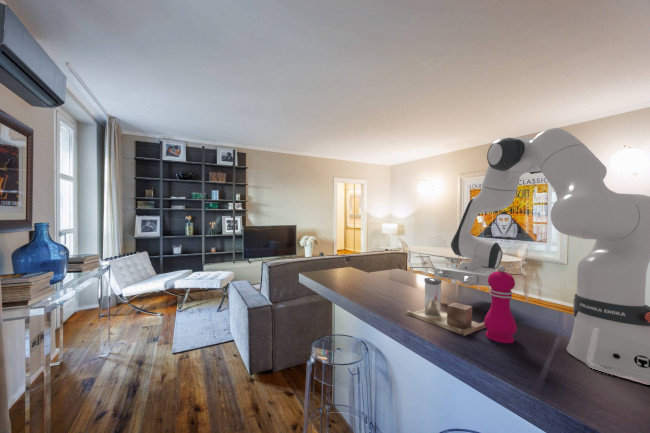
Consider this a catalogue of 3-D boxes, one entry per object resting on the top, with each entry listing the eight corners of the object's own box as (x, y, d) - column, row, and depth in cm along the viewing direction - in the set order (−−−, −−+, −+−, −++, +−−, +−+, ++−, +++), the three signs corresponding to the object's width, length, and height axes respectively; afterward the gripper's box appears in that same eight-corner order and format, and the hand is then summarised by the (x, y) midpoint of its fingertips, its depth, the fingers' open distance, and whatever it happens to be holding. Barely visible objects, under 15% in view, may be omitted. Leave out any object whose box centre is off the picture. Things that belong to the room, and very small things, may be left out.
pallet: (488, 330, 80) (488, 322, 80) (464, 340, 73) (464, 331, 73) (430, 311, 96) (430, 304, 96) (406, 317, 88) (406, 310, 88)
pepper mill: (485, 334, 77) (487, 262, 77) (516, 341, 73) (518, 265, 73) (482, 343, 71) (484, 265, 72) (516, 351, 67) (518, 269, 67)
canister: (444, 314, 89) (444, 280, 89) (434, 317, 86) (435, 281, 86) (430, 309, 93) (430, 277, 93) (420, 312, 90) (421, 278, 90)
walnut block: (471, 327, 79) (472, 306, 79) (465, 332, 75) (466, 310, 75) (453, 322, 82) (454, 302, 82) (446, 326, 79) (447, 305, 79)
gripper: (443, 262, 114) (425, 264, 106) (498, 269, 99) (483, 272, 90) (443, 277, 114) (425, 281, 105) (498, 286, 98) (483, 291, 90)
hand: (452, 277), depth 97 cm, fingers open, 8 cm apart
